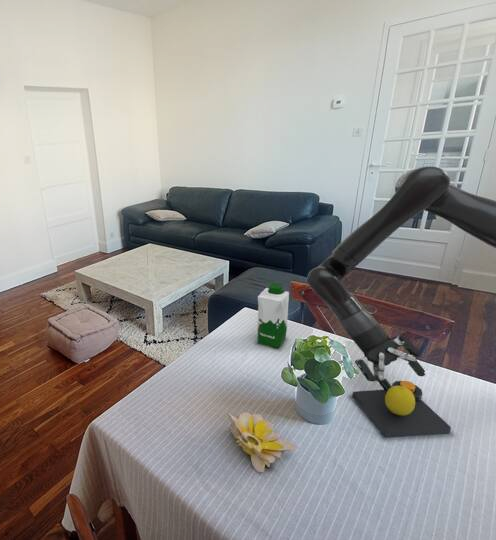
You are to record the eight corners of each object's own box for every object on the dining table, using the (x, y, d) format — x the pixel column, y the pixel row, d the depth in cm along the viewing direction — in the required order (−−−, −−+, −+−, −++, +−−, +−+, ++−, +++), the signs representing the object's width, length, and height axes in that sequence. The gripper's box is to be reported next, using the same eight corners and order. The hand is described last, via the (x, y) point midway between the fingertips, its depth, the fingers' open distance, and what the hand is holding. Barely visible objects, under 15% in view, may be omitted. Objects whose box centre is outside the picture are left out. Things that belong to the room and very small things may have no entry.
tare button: (408, 385, 86) (409, 380, 86) (417, 393, 84) (418, 388, 83) (396, 386, 87) (397, 381, 86) (405, 394, 84) (406, 389, 83)
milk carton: (288, 338, 116) (292, 285, 109) (280, 351, 110) (282, 296, 103) (263, 331, 122) (265, 281, 115) (253, 343, 116) (254, 291, 109)
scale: (408, 390, 89) (410, 379, 88) (453, 433, 76) (457, 421, 74) (350, 394, 90) (351, 384, 88) (385, 437, 77) (387, 425, 75)
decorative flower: (308, 467, 70) (299, 431, 67) (259, 490, 69) (248, 455, 66) (269, 418, 84) (259, 387, 81) (228, 437, 83) (217, 406, 80)
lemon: (417, 423, 77) (423, 395, 74) (390, 422, 78) (395, 395, 75) (403, 406, 82) (409, 379, 79) (378, 405, 83) (382, 378, 80)
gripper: (345, 341, 87) (391, 400, 82) (393, 313, 87) (442, 370, 82) (334, 343, 94) (376, 397, 89) (378, 316, 94) (422, 369, 89)
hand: (407, 384), depth 85 cm, fingers open, 8 cm apart
